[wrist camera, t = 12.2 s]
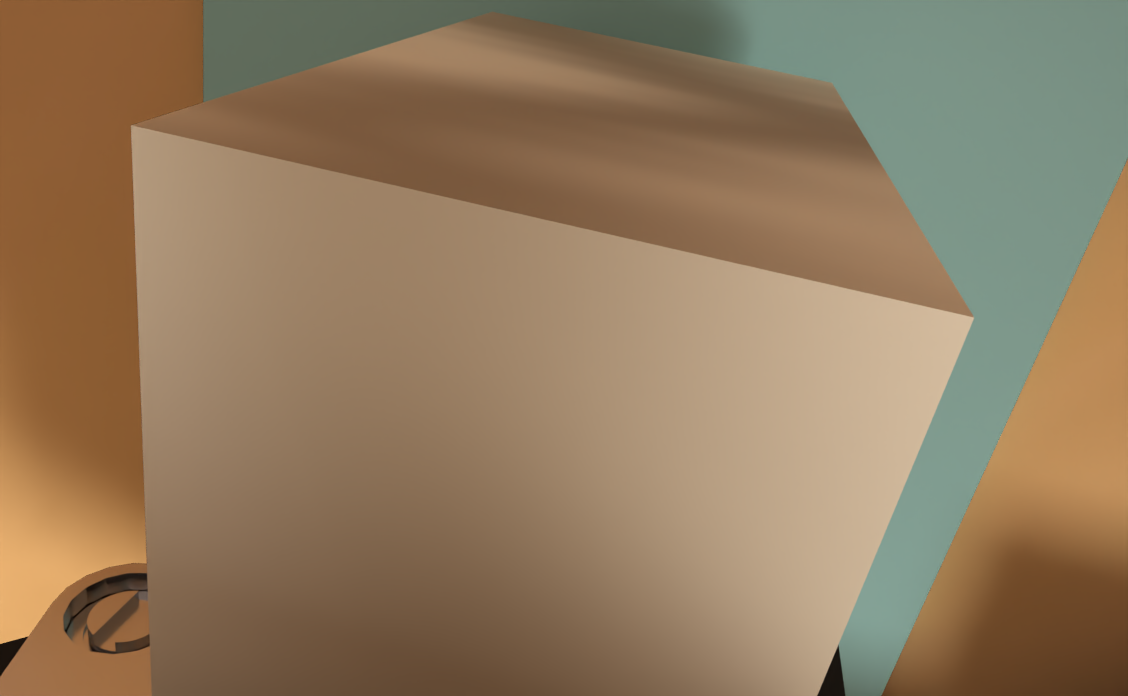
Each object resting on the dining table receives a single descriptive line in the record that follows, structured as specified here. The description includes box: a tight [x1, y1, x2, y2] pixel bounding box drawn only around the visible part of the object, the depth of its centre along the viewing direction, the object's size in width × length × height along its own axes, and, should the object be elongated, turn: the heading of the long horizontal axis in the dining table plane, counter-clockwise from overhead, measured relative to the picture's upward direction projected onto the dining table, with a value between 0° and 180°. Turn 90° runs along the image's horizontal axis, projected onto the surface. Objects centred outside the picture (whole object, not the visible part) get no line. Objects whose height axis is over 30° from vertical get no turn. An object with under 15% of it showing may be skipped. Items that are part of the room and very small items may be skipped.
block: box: [131, 12, 974, 696], centre depth 10 cm, size 4×12×7 cm, turn 169°
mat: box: [203, 0, 1128, 696], centre depth 14 cm, size 12×20×1 cm, turn 169°
